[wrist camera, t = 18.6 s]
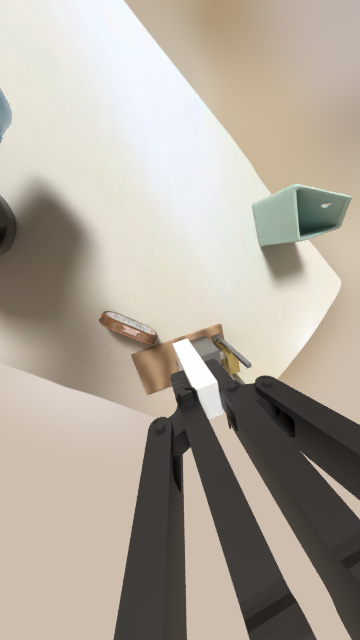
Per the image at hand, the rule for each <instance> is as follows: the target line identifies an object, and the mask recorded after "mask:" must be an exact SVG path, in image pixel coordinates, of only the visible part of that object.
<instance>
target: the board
mask: <svg viewBox="0 0 360 640" xmlns="http://www.w3.org/2000/svg"><path fill="white" fill-rule="evenodd" d="M218 333H221V337H222V339H224V337H223V331H222V325H221V324H218V325H215V326H212V327H209V328H206V329H204V330H201V331H198V332H195V333H192V334H189V335H186V336H183V337H180V338H177V339H174V340H171V341H168V342H165V343H163V344H160V345H157V346H154V347H151V348H148V349H145V350H142V351H139V352H136V353H133V354H131V356H132V359H133V361H134V364H135V366H136V369H137V371H138V373H139V376H140V378H141V381H142V383H143V386H144V388H145V391H146V393H147V395H148V394H150V393H153V392H156V391H158V390H161V389H163V388H166V387H169V386H171V385H172V383H171V380H170V378H171V374H173V373H176V372H178V369H177V366H176V361H177V357H176V354H175V351H174V347H173V344H172V343H175V342H178V341H181V340H184V339H188V340H189V341H190V340H193V339H196V338H199V337H202V336H206V337H207V338H208V339H209V340H210V341H211V342H212V337H211V336H212V335H215V334H218ZM212 343H213V342H212ZM222 366H223V365H222Z"/></svg>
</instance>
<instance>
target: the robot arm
mask: <svg viewBox="0 0 360 640" xmlns="http://www.w3.org/2000/svg"><path fill="white" fill-rule="evenodd" d="M11 120H12V112H11V109H10V106H9V103H8V101H7V99H6V97H5V96H4V94H3V92H2V90H1V89H0V143H1V140H2V136H3V134H4V133H5V131H6V130H7V128H8V127H9V125H10V124H11ZM15 233H16V225H15V220H14V216H13V214H12V212H11V209H10V208H9V206H8V204H7V203H6V202H5V200H4V199H3V198H2V197H1V195H0V254H2V253H3V252H5V251H6V250H7V249H8V248H9V247H10V246H11V244H12V243H13V241H14V238H15ZM172 344H173V347H174V351H175V354H176V357H177V361H178V364H179V367H180V370H181V371H178V372H176V373H173V374H171V378H170V380H171V383H172V387H173V390H174V393H175V396H176V401H177V404H178V406H177V409H176V411H175V413H174V414H173V415H172V416H170V417H169V418H166V417H160V418H157V419H156V420H154V421H153V422H152V423H151V425H150V427H149V429H148V436H147V442H146V447H145V453H144V459H143V465H142V472H141V477H140V483H139V490H138V496H137V502H136V508H135V514H134V520H133V526H132V532H131V538H130V544H129V550H128V556H127V562H126V568H125V575H124V580H123V586H122V592H121V598H120V605H119V610H118V616H117V623H116V628H115V635H114V640H187V633H186V632H187V630H186V585H185V544H184V543H185V539H184V494H183V455H182V454H183V453H185V452H186V451H187V450H188V449H189V448H190V447H191V449H192V452H193V456H194V459H195V462H196V465H197V468H198V472H199V475H200V478H201V482H202V485H203V488H204V491H205V494H206V497H207V501H208V504H209V507H210V510H211V514H212V517H213V520H214V524H215V527H216V530H217V533H218V537H219V540H220V543H221V546H222V550H223V553H224V556H225V559H226V563H227V566H228V569H229V572H230V576H231V579H232V582H233V585H234V589H235V592H236V595H237V598H238V601H239V605H240V608H241V611H242V615H243V618H244V621H245V625H246V628H247V631H248V635H249V639H250V640H317V639H316V637H315V635H314V633H313V631H312V629H311V627H310V625H309V623H308V621H307V619H306V617H305V615H304V613H303V611H302V610H301V608H300V606H299V604H298V602H297V601H296V599H295V598H294V596H293V595H292V593H291V592H290V590H289V588H288V586H287V584H286V582H285V580H284V578H283V576H282V574H281V572H280V570H279V568H278V565H277V563H276V561H275V559H274V557H273V555H272V553H271V551H270V549H269V546H268V544H267V542H266V540H265V538H264V536H263V534H262V532H261V529H260V527H259V525H258V523H257V521H256V519H255V517H254V515H253V513H252V511H251V508H250V506H249V504H248V502H247V500H246V498H245V496H244V494H243V491H242V489H241V487H240V485H239V483H238V481H237V479H236V477H235V475H234V473H233V470H232V468H231V466H230V464H229V462H228V460H227V458H226V456H225V454H224V451H223V449H222V447H221V445H220V443H219V441H218V439H217V437H216V435H215V432H214V430H213V428H212V426H211V424H210V422H209V420H210V419H212V418H214V417H217V416H219V415H222V414H224V411H225V412H226V415H227V420H228V425H229V428H230V429H231V426H232V428H233V430H234V431H235V433H236V435H237V437H238V438H239V440H240V442H241V443H242V445H243V447H244V448H245V450H246V452H247V453H248V455H249V457H250V459H251V460H252V462H253V464H254V465H255V467H256V469H257V471H258V472H259V474H260V476H261V477H262V479H263V481H264V483H265V484H266V486H267V487H268V489H269V491H270V493H271V494H272V496H273V498H274V499H275V501H276V503H277V505H278V506H279V508H280V510H281V511H282V513H283V515H284V517H285V518H286V520H287V521H288V523H289V525H290V527H291V528H292V530H293V532H294V534H295V535H296V537H297V539H298V540H299V542H300V544H301V545H302V547H303V549H304V550H305V552H306V554H307V556H308V557H309V559H310V561H311V562H312V564H313V566H314V568H315V569H316V571H317V573H318V574H319V576H320V578H321V580H322V581H323V582H324V585H325V586H326V588H327V590H328V592H329V594H330V596H331V598H332V600H333V603H334V605H335V607H336V610H337V612H338V614H339V616H340V618H341V620H342V622H343V624H344V626H345V628H346V630H347V632H348V633H349V635H350V637H351V639H352V640H360V519H359V518H358V517H357V516H356V515H355V514H354V512H353V511H352V510H351V509H350V508H349V507H348V506H347V505H346V503H345V502H344V501H343V500H342V499H341V498H340V496H339V495H338V494H337V493H336V492H335V491H334V489H333V488H332V487H331V486H330V485H329V484H328V483H327V481H326V480H325V479H324V478H323V477H322V476H321V475H320V473H319V472H318V471H317V470H316V469H315V468H314V467H313V465H312V464H311V463H310V462H309V461H308V460H307V459H306V457H305V456H304V455H303V454H305V455H306V456H307V457H308V458H309V459H310V460H312V461H313V462H314V463H315V464H317V465H318V466H319V467H320V468H321V469H323V470H324V471H325V472H326V473H327V474H329V475H330V476H331V477H332V478H333V479H335V480H336V481H337V482H338V483H339V484H341V485H342V486H343V487H344V488H345V489H347V490H348V491H349V492H351V493H352V494H353V495H354V496H355V497H356V498H358V499H359V500H360V425H359V424H357V423H355V422H353V421H351V420H350V419H348V418H346V417H344V416H342V415H341V414H339V413H337V412H335V411H333V410H332V409H329V408H328V407H326V406H324V405H322V404H320V403H318V402H317V401H315V400H313V399H312V398H310V397H308V396H306V395H304V394H302V393H301V392H299V391H297V390H295V389H293V388H292V387H290V386H288V385H286V384H284V383H283V382H281V381H279V380H277V379H275V378H273V377H271V376H260V377H258V378H257V379H256V380H255V383H253V384H241V383H240V382H238V381H236V380H233V379H232V378H231V376H230V375H229V374H228V373H227V372H226V370H225V369H224V368H223V367H222V366H221V364H220V363H219V362H218V361H217V360H215V359H210V360H207V361H204V362H203V360H202V359H201V357H200V356H199V354H198V353H197V352H196V350H195V349H194V347H193V346H192V344H191V343H190V342H189V340H188V339H184V340H181V341H178V342H175V343H172ZM223 409H224V411H223ZM299 450H300V451H301V452H302V453H303V454H302V453H301V452H300V451H299Z"/></svg>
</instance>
